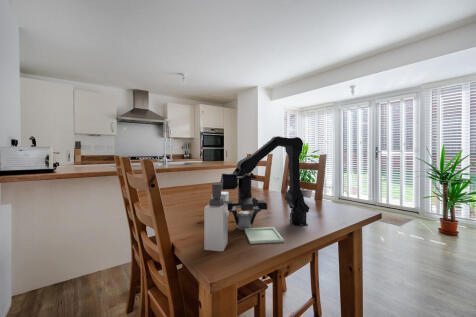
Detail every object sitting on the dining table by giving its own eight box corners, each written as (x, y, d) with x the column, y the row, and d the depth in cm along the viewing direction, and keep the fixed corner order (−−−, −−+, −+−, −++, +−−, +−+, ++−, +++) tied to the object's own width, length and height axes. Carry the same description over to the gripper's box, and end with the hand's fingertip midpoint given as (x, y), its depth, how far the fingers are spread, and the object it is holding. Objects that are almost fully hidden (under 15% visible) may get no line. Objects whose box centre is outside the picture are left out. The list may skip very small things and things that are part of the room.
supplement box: (225, 220, 102) (225, 194, 102) (210, 219, 104) (210, 193, 103) (229, 216, 109) (229, 191, 109) (215, 215, 111) (215, 191, 110)
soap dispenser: (228, 240, 79) (229, 181, 79) (222, 251, 71) (223, 185, 70) (212, 239, 80) (212, 181, 80) (204, 249, 72) (204, 184, 71)
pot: (249, 225, 96) (249, 210, 96) (252, 229, 90) (252, 214, 90) (236, 225, 95) (236, 210, 95) (237, 230, 89) (238, 214, 89)
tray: (273, 229, 91) (273, 227, 91) (283, 242, 78) (283, 239, 78) (244, 230, 89) (244, 228, 89) (249, 243, 77) (249, 240, 77)
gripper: (223, 193, 82) (223, 232, 83) (271, 192, 84) (270, 231, 85) (222, 188, 93) (222, 223, 94) (264, 187, 95) (263, 222, 96)
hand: (244, 225), depth 92 cm, fingers closed on pot, 6 cm apart
